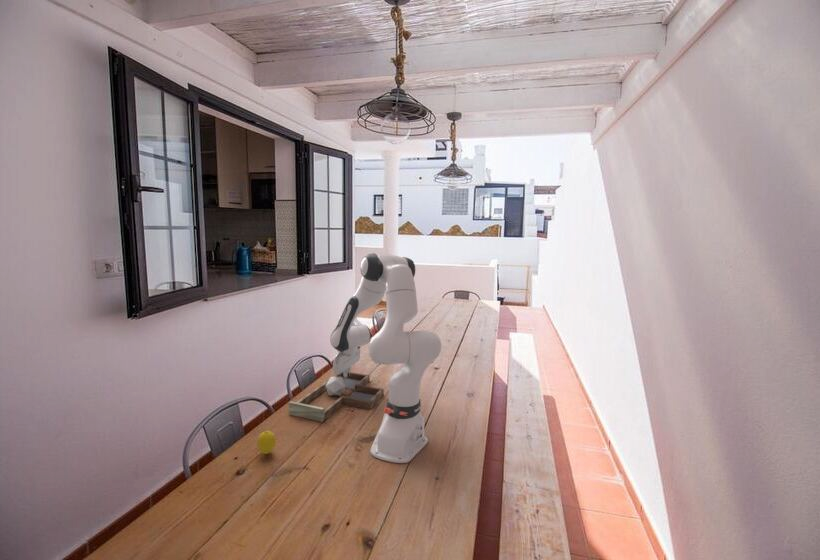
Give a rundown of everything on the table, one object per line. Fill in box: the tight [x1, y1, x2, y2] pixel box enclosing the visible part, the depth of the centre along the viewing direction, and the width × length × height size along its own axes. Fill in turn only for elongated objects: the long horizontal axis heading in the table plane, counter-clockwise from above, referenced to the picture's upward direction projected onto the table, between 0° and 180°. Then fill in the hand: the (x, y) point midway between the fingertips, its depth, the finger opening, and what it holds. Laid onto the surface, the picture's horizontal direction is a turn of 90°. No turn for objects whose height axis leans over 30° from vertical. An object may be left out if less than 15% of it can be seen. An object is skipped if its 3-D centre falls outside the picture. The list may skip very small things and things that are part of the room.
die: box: [326, 376, 346, 397], centre depth 169 cm, size 8×9×10 cm
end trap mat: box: [343, 378, 360, 391], centre depth 181 cm, size 10×12×1 cm
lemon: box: [256, 430, 277, 455], centre depth 123 cm, size 6×6×8 cm
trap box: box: [288, 371, 385, 423], centre depth 166 cm, size 42×28×5 cm, turn 161°
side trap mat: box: [348, 390, 374, 401], centre depth 166 cm, size 11×12×1 cm
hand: (346, 376), depth 179 cm, fingers closed
